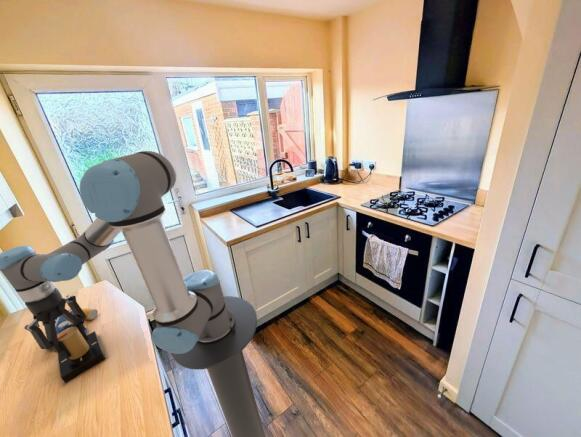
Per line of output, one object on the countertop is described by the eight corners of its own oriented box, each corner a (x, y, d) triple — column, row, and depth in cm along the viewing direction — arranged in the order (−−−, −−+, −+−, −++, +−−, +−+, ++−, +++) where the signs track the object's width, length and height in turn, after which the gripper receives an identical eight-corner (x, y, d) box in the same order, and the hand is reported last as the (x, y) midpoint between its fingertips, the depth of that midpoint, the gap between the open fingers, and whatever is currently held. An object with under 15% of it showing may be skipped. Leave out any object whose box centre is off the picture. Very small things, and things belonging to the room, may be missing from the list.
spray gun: (102, 304, 110) (61, 319, 104) (97, 297, 108) (55, 311, 103) (93, 338, 93) (43, 358, 88) (88, 330, 91) (37, 350, 86)
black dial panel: (106, 358, 84) (102, 352, 83) (65, 383, 77) (60, 377, 76) (98, 336, 93) (94, 330, 92) (61, 357, 87) (57, 351, 85)
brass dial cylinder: (84, 342, 88) (72, 323, 84) (92, 348, 85) (80, 329, 81) (66, 355, 83) (52, 336, 79) (73, 362, 81) (59, 342, 77)
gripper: (13, 319, 65) (57, 376, 74) (79, 275, 81) (108, 325, 91) (-8, 318, 66) (37, 373, 76) (61, 274, 83) (91, 324, 92)
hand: (76, 347), depth 83 cm, fingers closed on brass dial cylinder, 6 cm apart
